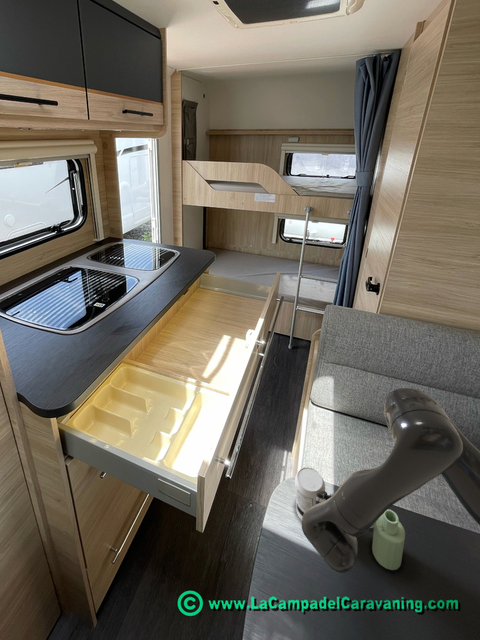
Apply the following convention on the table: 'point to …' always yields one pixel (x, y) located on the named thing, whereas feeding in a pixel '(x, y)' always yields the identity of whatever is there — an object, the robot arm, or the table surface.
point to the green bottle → (388, 540)
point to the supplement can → (307, 489)
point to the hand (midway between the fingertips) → (348, 503)
